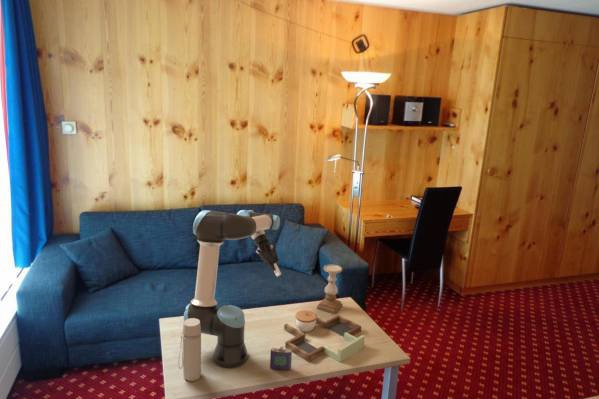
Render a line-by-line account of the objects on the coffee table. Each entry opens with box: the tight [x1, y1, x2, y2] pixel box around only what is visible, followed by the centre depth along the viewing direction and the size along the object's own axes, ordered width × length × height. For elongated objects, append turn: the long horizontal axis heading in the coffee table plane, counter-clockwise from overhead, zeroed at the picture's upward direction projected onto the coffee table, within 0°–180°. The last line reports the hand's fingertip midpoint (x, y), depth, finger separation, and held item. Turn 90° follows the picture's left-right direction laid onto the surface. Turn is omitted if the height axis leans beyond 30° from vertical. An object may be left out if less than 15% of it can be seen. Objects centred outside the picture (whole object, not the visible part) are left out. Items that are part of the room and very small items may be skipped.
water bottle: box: [177, 318, 202, 382], centre depth 182 cm, size 9×8×25 cm
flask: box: [269, 345, 293, 372], centre depth 193 cm, size 9×3×11 cm, turn 87°
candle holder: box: [316, 264, 343, 315], centre depth 247 cm, size 11×11×24 cm
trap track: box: [283, 314, 366, 363], centre depth 218 cm, size 36×39×6 cm
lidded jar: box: [295, 309, 318, 333], centre depth 225 cm, size 11×11×9 cm
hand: (279, 275), depth 235 cm, fingers closed
